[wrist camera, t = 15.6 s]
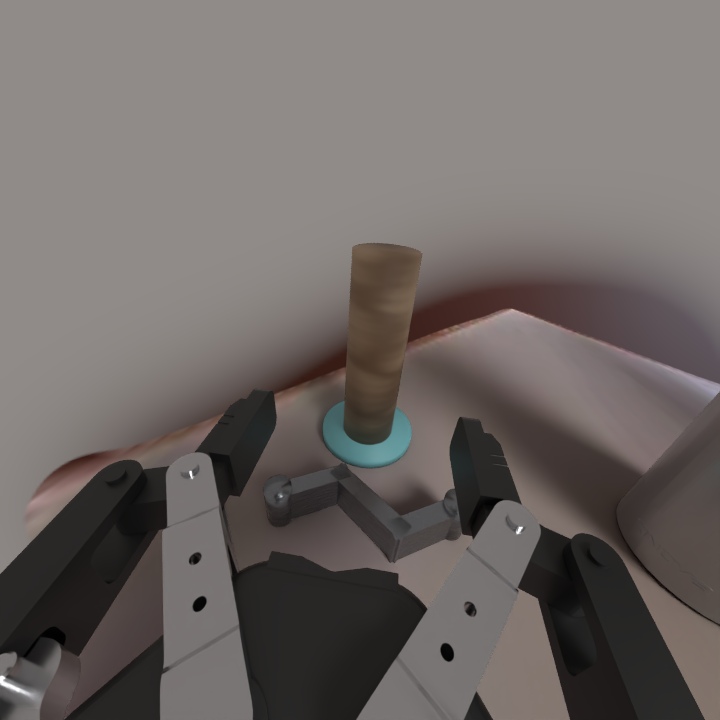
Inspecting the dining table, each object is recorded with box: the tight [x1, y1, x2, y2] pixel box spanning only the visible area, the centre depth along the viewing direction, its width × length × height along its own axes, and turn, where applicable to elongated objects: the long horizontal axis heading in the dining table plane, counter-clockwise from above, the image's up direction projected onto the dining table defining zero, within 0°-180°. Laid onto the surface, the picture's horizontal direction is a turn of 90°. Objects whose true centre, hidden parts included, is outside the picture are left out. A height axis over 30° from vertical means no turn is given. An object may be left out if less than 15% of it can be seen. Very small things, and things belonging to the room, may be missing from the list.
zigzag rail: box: [263, 463, 462, 563], centre depth 20 cm, size 14×5×3 cm, turn 88°
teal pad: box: [323, 400, 412, 468], centre depth 28 cm, size 8×8×1 cm
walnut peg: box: [343, 243, 422, 445], centre depth 24 cm, size 5×5×16 cm
